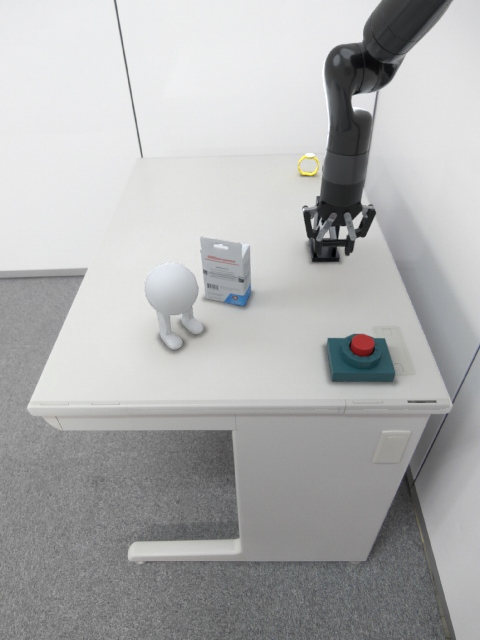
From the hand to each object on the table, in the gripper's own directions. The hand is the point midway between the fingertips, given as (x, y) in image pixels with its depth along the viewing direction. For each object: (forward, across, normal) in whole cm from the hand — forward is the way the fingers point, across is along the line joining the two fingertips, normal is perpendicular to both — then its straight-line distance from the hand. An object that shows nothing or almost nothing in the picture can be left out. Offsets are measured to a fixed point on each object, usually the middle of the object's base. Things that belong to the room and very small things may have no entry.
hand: (332, 253), depth 89 cm
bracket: (+6, 0, +10) cm, 12 cm away
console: (+6, +2, -24) cm, 25 cm away
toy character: (+6, -30, -16) cm, 35 cm away
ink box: (+6, -21, -5) cm, 23 cm away
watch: (+6, 0, +50) cm, 51 cm away
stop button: (+3, +2, -24) cm, 24 cm away
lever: (-3, 0, +6) cm, 6 cm away
